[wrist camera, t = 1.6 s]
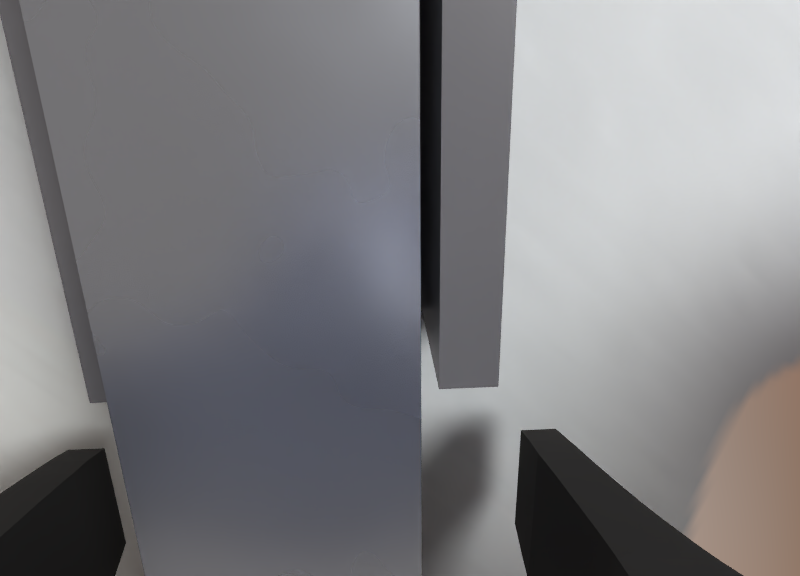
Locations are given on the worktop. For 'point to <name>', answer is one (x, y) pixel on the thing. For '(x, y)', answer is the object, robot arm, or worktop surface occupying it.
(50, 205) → the grey u-shaped channel
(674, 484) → the worktop surface
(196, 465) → the bar
